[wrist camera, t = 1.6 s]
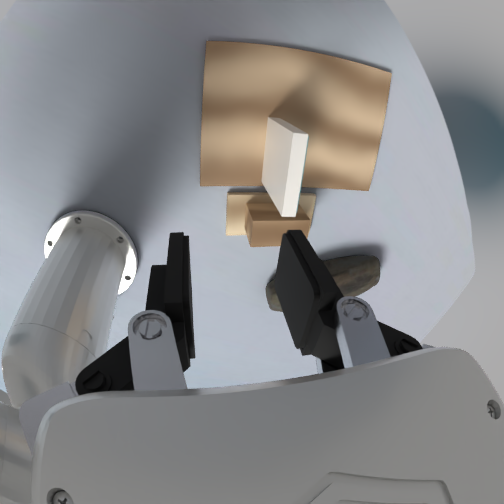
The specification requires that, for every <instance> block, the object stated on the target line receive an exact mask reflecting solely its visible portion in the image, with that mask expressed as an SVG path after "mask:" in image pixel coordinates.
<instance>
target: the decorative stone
mask: <svg viewBox="0 0 504 504" xmlns="http://www.w3.org/2000/svg"><path fill="white" fill-rule="evenodd" d="M323 262H324V264H325V265H326V267H327V269H328V270H329V272H330V274H331V275H332V277H333V279H334V280H335V282H336V284H337V286H338V287H339V289H340V291H341V292H342V294H343V296H344V297H347V296H353V297H355V296H358V295H360V294H362V293H364V292H365V291H367V290H369V289H370V288H372V287H373V286H375V285H376V284H377V283H378V282H379V279H380V263H379V260H378V258H377V257H375V256H348V257H340V258H335V259H331V260H327V261H323ZM266 296H267V301H268V304H269V307H270V309H271V310H274V311H280V312H283V310H282V308H281V305H280V302H279V299H278V296H277V294H276V291H275V279H274V280H272V281H271V282H270V283H268V284H267V286H266Z"/></svg>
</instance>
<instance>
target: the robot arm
mask: <svg viewBox="0 0 504 504" xmlns="http://www.w3.org/2000/svg"><path fill="white" fill-rule="evenodd" d="M44 251H45V257H46V259H45V261H44V263H43V265H42V266H41V268H40V270H39V272H38V273H37V275H36V277H35V279H34V281H33V283H32V285H31V286H30V288H29V290H28V292H27V294H26V296H25V298H24V300H23V302H22V304H21V306H20V308H19V311H18V313H17V315H16V317H15V319H14V322H13V324H12V326H11V328H10V330H9V332H8V335H7V337H6V340H5V342H4V346H3V350H2V372H3V378H4V382H5V386H6V389H7V393H8V395H9V398H10V401H11V404H12V407H11V406H10V405H7V404H6V403H3V402H1V401H0V504H504V404H503V402H502V400H501V399H500V397H499V395H498V393H497V391H496V390H495V388H494V386H493V385H492V383H491V381H490V380H489V378H488V376H487V375H486V373H485V372H484V371H483V369H482V368H481V366H480V365H479V364H478V363H477V361H476V360H475V359H474V358H473V357H472V356H471V355H470V354H469V353H468V352H466V351H464V350H461V349H457V348H450V347H433V346H429V345H425V344H423V345H422V346H421V345H420V343H419V342H418V341H417V340H416V339H415V338H413V337H411V336H409V335H407V334H405V333H403V332H401V331H398V330H396V329H394V328H392V327H390V326H388V325H385V324H383V323H381V322H379V321H377V320H376V317H375V315H374V312H373V310H372V308H371V307H370V305H369V304H368V303H367V302H366V301H364V300H362V299H360V298H358V297H353V296H347V297H344V296H343V294H342V292H341V291H340V289H339V287H338V286H337V284H336V282H335V280H334V279H333V277H332V275H331V274H330V272H329V270H328V269H327V267H326V265H325V264H324V262H323V261H322V260H321V259H319V258H318V256H317V254H316V253H315V251H314V249H313V248H312V246H311V245H310V243H309V241H308V240H307V238H306V236H305V235H304V233H303V232H302V230H287V232H286V233H283V235H282V240H281V246H280V253H279V259H278V265H277V271H276V277H275V291H276V294H277V296H278V299H279V302H280V305H281V308H282V310H283V313H284V316H285V319H286V322H287V324H288V327H289V330H290V333H291V336H292V339H293V341H294V344H295V347H296V348H297V349H299V348H300V350H301V353H302V356H304V355H310V354H312V355H313V356H315V357H316V365H317V371H318V374H315V375H310V376H304V377H298V378H292V379H285V380H279V381H271V382H264V383H256V384H247V385H237V386H227V387H215V388H200V389H187V385H186V382H185V378H184V374H183V372H185V371H186V370H187V369H188V368H189V367H190V359H191V358H195V346H194V329H193V308H192V286H191V270H190V251H189V236H184V233H183V232H178V233H170V238H169V247H168V257H167V265H152V267H151V273H150V280H149V287H148V294H147V302H146V310H145V311H142V312H140V313H138V314H136V315H135V316H134V317H133V318H132V319H131V320H130V322H129V324H128V336H127V337H126V338H125V339H123V340H122V341H121V342H119V343H118V344H116V345H115V346H114V347H112V348H111V349H110V350H108V351H107V345H108V339H109V334H110V329H111V324H112V320H113V318H114V315H113V314H114V310H115V305H116V301H117V297H118V295H119V294H121V293H122V292H124V291H125V290H126V289H127V288H128V287H129V286H130V285H131V283H132V282H133V280H134V278H135V275H136V271H137V265H138V257H137V252H136V249H135V246H134V243H133V241H132V240H131V238H130V236H129V235H128V233H127V232H126V231H125V230H124V229H123V228H122V227H121V226H120V225H119V224H118V223H116V222H115V221H114V220H112V219H110V218H109V217H107V216H105V215H102V214H100V213H97V212H92V211H74V212H70V213H67V214H65V215H63V216H61V217H60V218H59V219H58V220H57V221H55V223H54V224H53V225H52V227H51V228H50V230H49V232H48V233H47V236H46V239H45V248H44ZM106 351H107V352H106Z"/></svg>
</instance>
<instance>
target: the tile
mask: <svg viewBox="0 0 504 504" xmlns="http://www.w3.org/2000/svg"><path fill="white" fill-rule="evenodd" d="M308 140H309V136H308V134H307V133H305V132H304V131H302V130H300V129H298V128H297V127H295V126H293V125H291V124H290V123H288V122H286V121H284V120H282V119H281V118H274V117H268V122H267V132H266V141H265V151H264V161H263V171H262V181H261V182H262V184H263V185H264V187H265V189H266V190H267V192H268V194H269V196H270V197H271V199H272V201H273V202H274V204H275V206H276V208H277V209H278V211H279V213H280V215H281V216H282V217H296V213H297V210H298V204H299V198H300V192H301V186H302V180H303V173H304V167H305V161H306V154H307V147H308Z"/></svg>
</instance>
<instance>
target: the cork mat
mask: <svg viewBox="0 0 504 504" xmlns="http://www.w3.org/2000/svg"><path fill="white" fill-rule="evenodd" d="M391 75H392V73H389V72H386V71H383V70H380V69H377V68H374V67H371V66H367V65H364V64H360V63H357V62H353V61H350V60H346V59H342V58H338V57H333V56H329V55H325V54H320V53H315V52H310V51H305V50H299V49H293V48H287V47H280V46H272V45H264V44H254V43H242V42H226V41H206V53H205V67H204V82H203V100H202V123H201V157H200V186H264V185H263V184H262V182H261V181H262V171H263V161H264V151H265V141H266V132H267V122H268V117H274V118H281V119H282V120H284V121H286V122H288V123H290V124H291V125H293V126H295V127H297V128H298V129H300V130H302V131H304V132H305V133H307V134H308V136H309V140H308V147H307V154H306V161H305V167H304V173H303V180H302V186H301V187H310V188H331V189H347V190H361V191H369V188H370V184H371V180H372V176H373V171H374V167H375V163H376V158H377V154H378V149H379V144H380V140H381V135H382V129H383V124H384V119H385V113H386V108H387V102H388V95H389V89H390V82H391Z"/></svg>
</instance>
